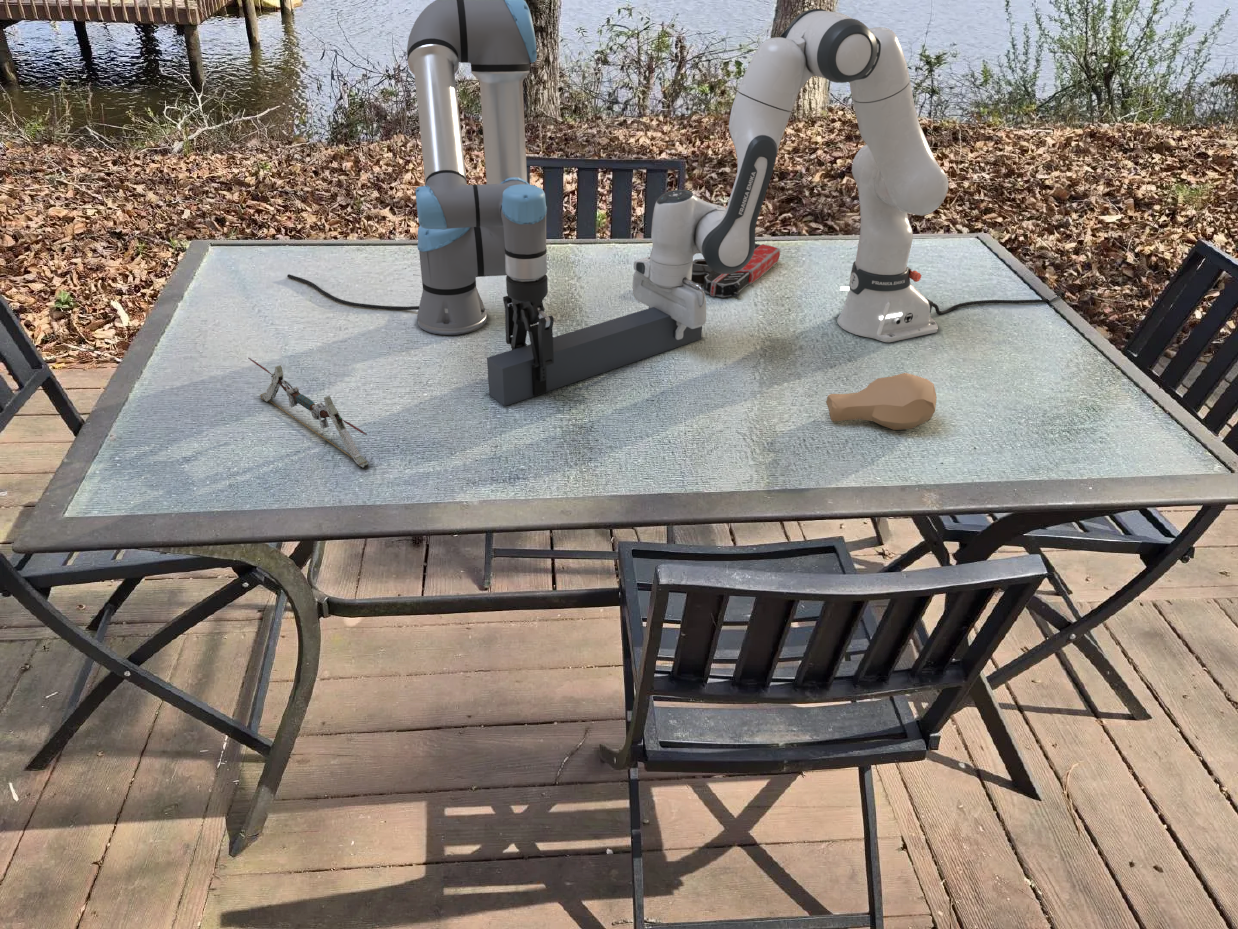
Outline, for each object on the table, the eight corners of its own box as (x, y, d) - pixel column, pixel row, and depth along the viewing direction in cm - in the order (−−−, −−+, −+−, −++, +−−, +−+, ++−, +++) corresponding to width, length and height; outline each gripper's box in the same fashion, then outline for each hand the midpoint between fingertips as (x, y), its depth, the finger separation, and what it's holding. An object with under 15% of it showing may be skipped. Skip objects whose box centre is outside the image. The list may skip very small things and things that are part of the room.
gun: (663, 267, 215) (734, 286, 207) (718, 230, 237) (784, 246, 229) (662, 284, 218) (732, 303, 210) (716, 246, 240) (782, 262, 232)
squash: (941, 436, 161) (948, 398, 155) (831, 444, 163) (834, 407, 157) (927, 398, 169) (933, 361, 163) (822, 407, 171) (824, 370, 164)
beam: (504, 406, 166) (502, 368, 162) (489, 394, 170) (486, 357, 165) (701, 339, 193) (704, 305, 188) (684, 330, 196) (686, 296, 192)
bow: (378, 470, 147) (371, 419, 141) (369, 475, 146) (361, 423, 140) (261, 391, 168) (250, 343, 163) (252, 394, 167) (241, 347, 162)
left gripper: (573, 286, 155) (573, 400, 168) (516, 255, 167) (520, 363, 180) (538, 295, 151) (541, 412, 164) (482, 263, 163) (489, 373, 176)
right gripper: (716, 283, 176) (710, 346, 184) (651, 253, 190) (648, 312, 197) (693, 290, 173) (688, 353, 181) (628, 259, 186) (626, 319, 194)
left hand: (530, 386), depth 172 cm, fingers closed on beam, 6 cm apart
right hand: (666, 332), depth 189 cm, fingers closed on beam, 5 cm apart
